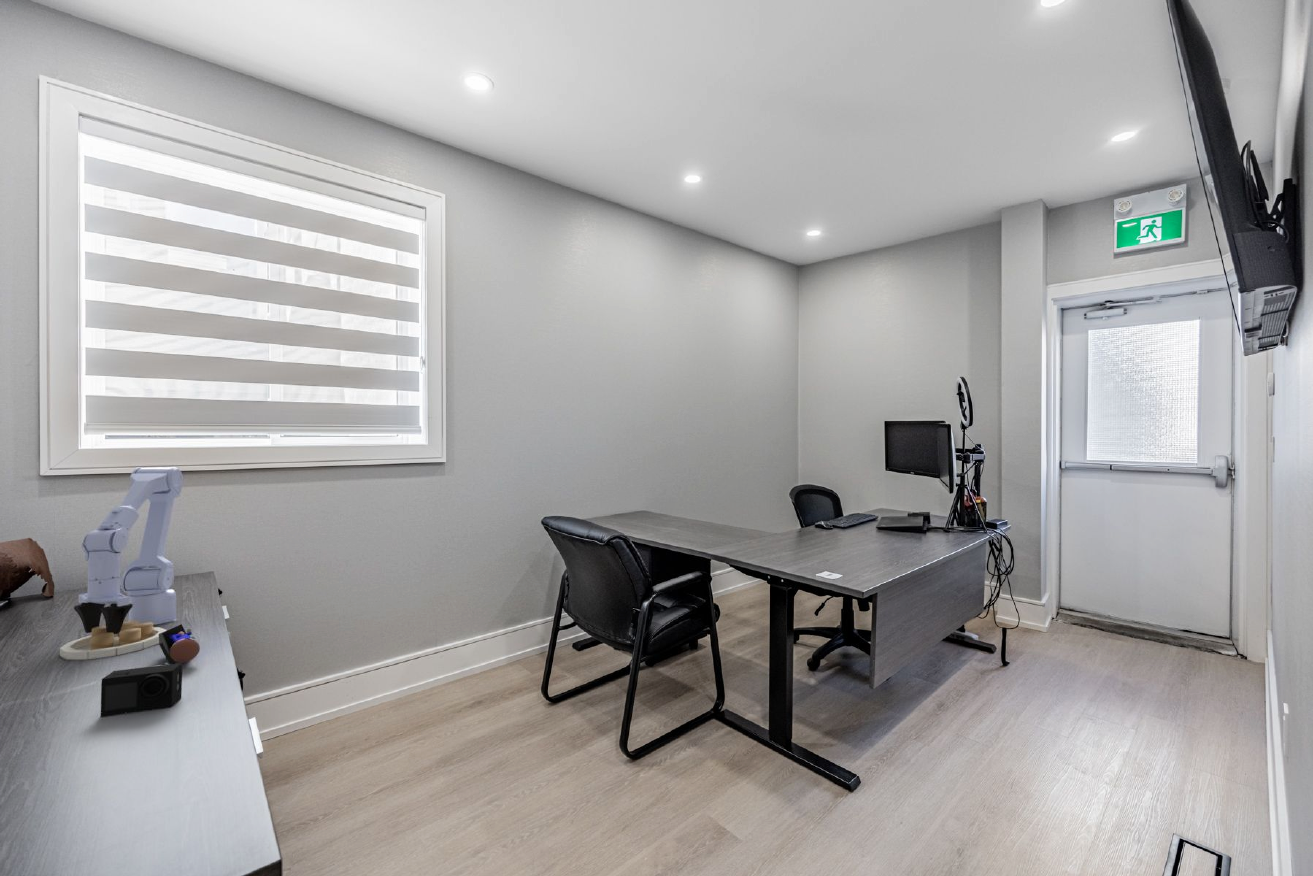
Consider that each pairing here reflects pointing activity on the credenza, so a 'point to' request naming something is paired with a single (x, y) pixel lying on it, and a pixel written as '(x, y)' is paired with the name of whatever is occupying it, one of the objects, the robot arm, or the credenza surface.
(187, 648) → the character figurine
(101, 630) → the bead
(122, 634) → the seated bead
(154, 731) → the credenza surface
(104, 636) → the seated bead
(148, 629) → the seated bead
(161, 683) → the digital camera
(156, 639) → the tray
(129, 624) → the bead
